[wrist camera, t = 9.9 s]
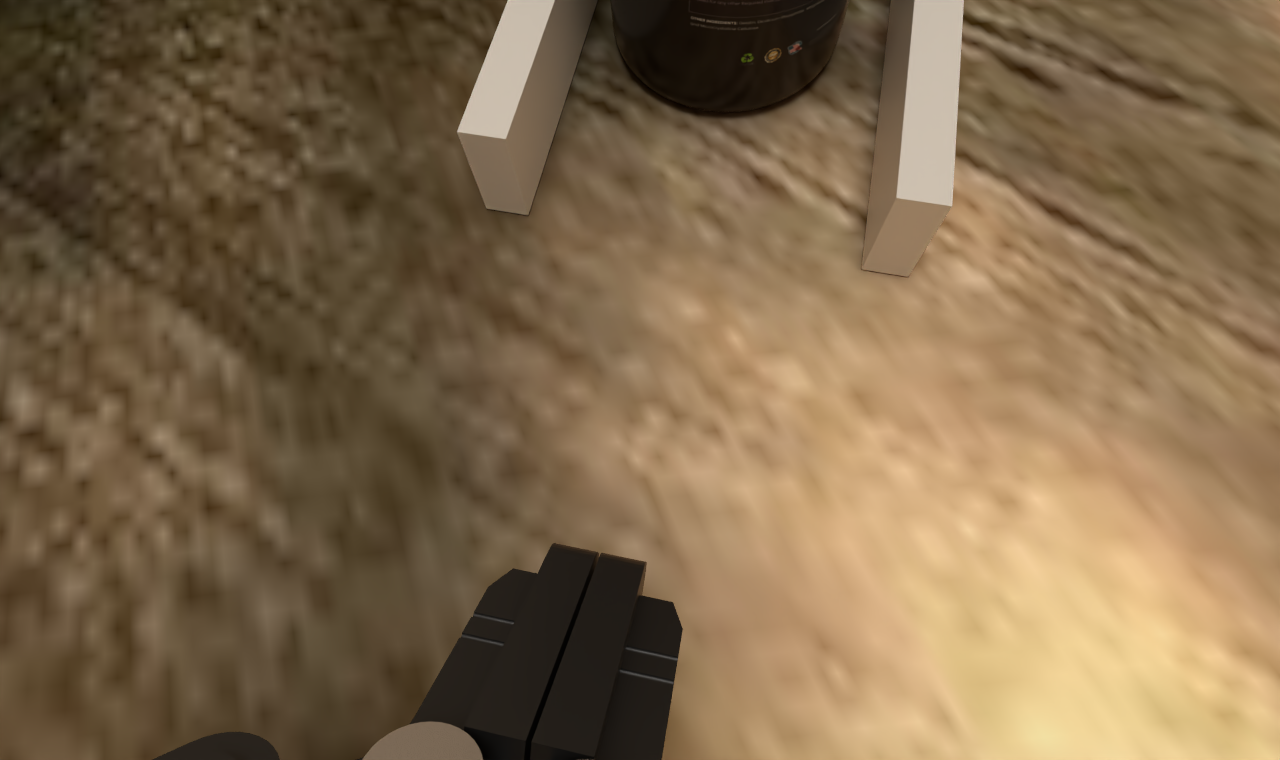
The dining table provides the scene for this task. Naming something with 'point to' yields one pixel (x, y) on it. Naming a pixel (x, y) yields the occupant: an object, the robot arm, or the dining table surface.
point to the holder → (905, 138)
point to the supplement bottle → (727, 48)
